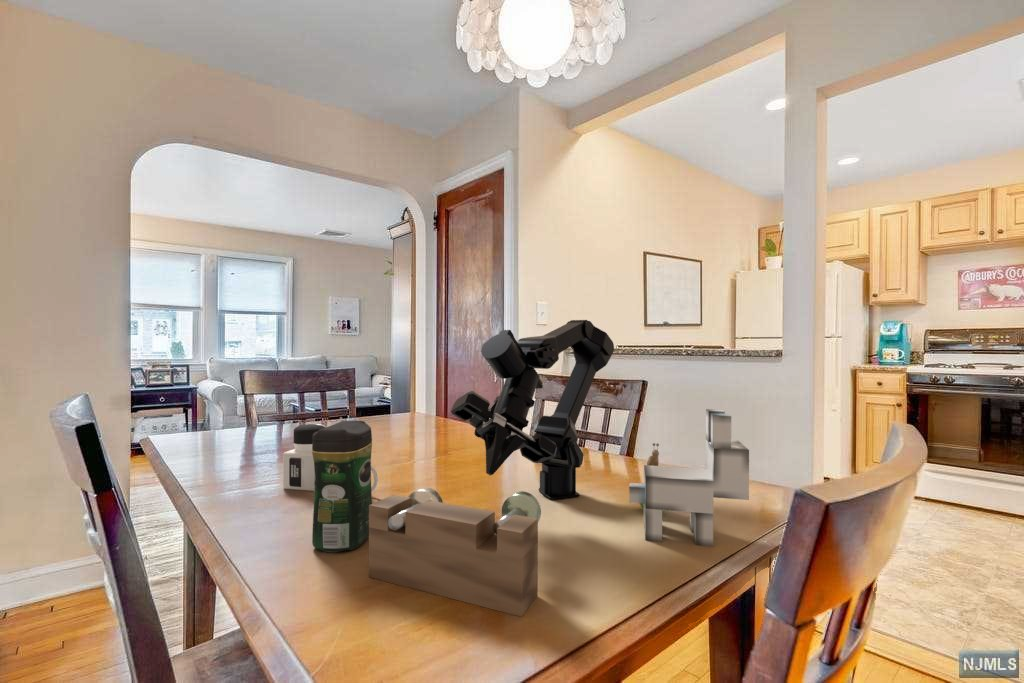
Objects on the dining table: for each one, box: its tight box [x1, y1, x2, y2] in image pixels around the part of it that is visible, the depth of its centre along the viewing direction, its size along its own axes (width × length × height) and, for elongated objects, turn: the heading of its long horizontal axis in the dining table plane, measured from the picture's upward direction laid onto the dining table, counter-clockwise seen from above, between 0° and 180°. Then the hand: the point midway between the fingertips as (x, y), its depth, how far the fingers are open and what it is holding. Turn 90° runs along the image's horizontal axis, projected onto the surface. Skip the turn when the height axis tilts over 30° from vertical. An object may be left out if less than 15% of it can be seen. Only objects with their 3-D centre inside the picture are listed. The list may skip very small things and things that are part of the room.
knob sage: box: [493, 491, 542, 535], centre depth 64 cm, size 8×5×5 cm, turn 155°
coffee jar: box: [311, 420, 373, 553], centre depth 77 cm, size 10×8×19 cm
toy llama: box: [628, 408, 750, 547], centre depth 80 cm, size 8×18×20 cm, turn 77°
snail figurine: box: [638, 442, 660, 510], centre depth 91 cm, size 5×6×12 cm
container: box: [282, 423, 327, 492], centre depth 106 cm, size 8×8×13 cm
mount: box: [368, 494, 539, 617], centre depth 63 cm, size 5×22×10 cm, turn 65°
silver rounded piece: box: [388, 487, 444, 531], centre depth 66 cm, size 8×5×5 cm, turn 155°
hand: (489, 474), depth 78 cm, fingers closed
